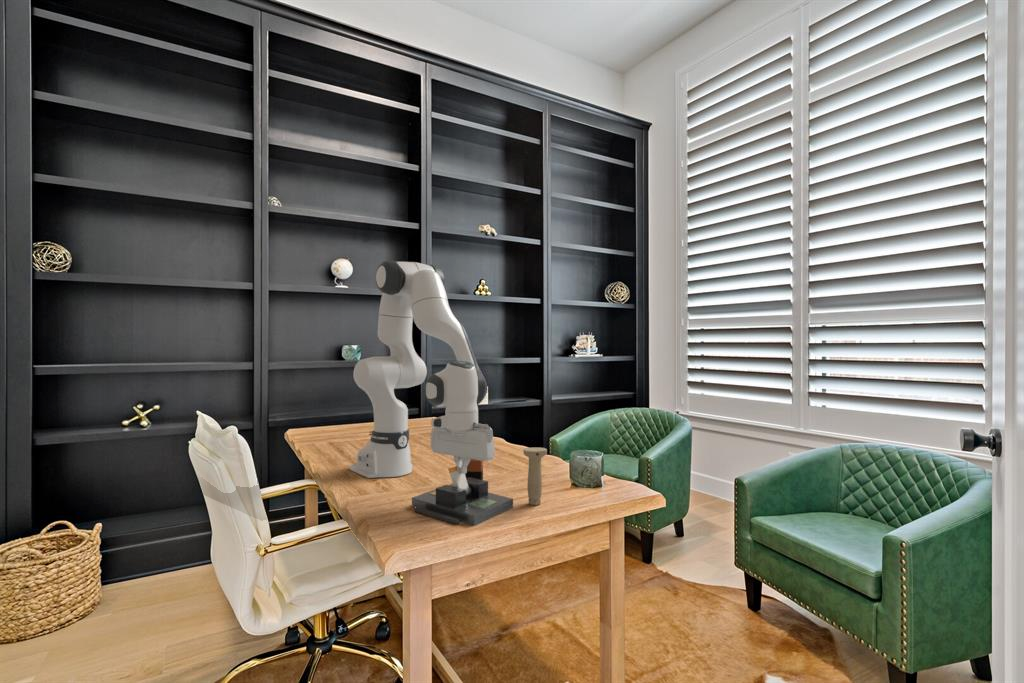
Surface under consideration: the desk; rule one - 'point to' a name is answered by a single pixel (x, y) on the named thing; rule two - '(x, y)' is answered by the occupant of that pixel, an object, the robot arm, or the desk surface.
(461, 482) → the lever
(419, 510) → the dark grey flat slab
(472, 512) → the panel
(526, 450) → the handle
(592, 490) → the desk surface
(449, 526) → the desk surface
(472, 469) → the battery
